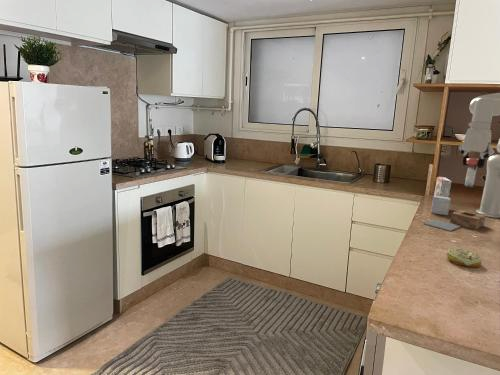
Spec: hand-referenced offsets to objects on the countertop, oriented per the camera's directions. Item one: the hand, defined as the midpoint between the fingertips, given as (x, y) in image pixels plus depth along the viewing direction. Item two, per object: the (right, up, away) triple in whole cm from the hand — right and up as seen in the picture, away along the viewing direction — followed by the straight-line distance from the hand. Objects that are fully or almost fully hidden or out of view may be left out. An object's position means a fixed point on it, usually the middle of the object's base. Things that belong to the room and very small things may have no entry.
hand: (472, 166), depth 172 cm
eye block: (+1, -27, +7) cm, 28 cm away
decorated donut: (-26, -36, -39) cm, 60 cm away
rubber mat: (-12, -27, +3) cm, 30 cm away
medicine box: (-3, -23, +24) cm, 34 cm away
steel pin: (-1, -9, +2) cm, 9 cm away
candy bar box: (+2, -21, +35) cm, 41 cm away
